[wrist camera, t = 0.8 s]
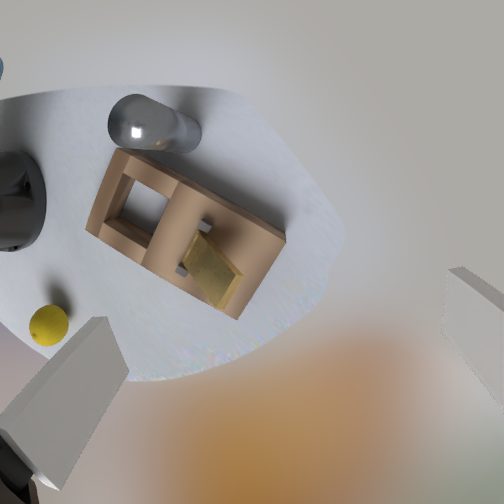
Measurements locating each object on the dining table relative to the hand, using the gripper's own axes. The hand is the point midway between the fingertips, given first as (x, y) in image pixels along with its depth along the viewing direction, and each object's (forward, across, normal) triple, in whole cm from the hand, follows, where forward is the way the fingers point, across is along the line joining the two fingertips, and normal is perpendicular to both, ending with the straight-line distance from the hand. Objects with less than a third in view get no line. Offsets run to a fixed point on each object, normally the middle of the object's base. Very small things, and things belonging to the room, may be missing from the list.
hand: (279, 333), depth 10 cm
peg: (+24, -8, +10) cm, 27 cm away
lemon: (+24, -33, -9) cm, 42 cm away
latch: (+17, -6, -3) cm, 18 cm away
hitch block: (+24, -10, 0) cm, 26 cm away
